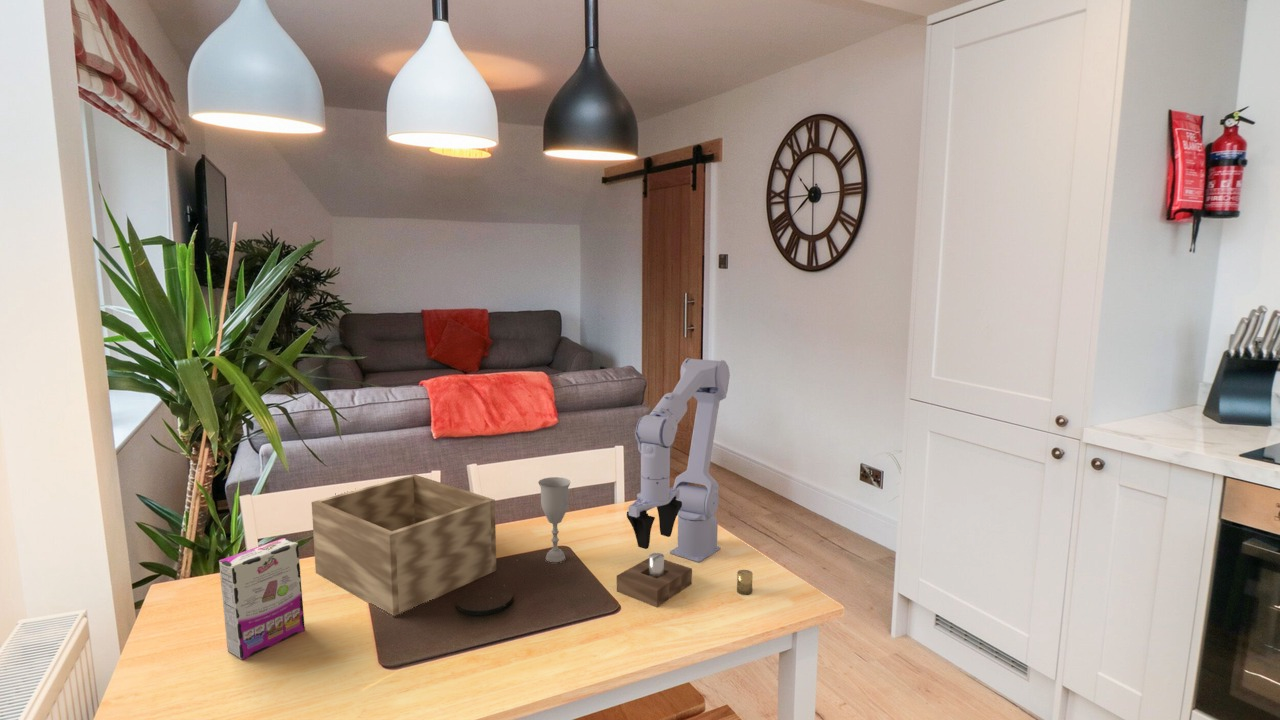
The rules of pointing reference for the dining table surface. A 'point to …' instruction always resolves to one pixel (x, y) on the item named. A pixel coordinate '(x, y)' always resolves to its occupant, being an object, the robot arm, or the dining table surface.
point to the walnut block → (654, 582)
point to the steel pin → (656, 565)
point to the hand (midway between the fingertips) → (654, 541)
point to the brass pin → (744, 582)
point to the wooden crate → (404, 541)
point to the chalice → (554, 509)
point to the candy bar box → (261, 597)
